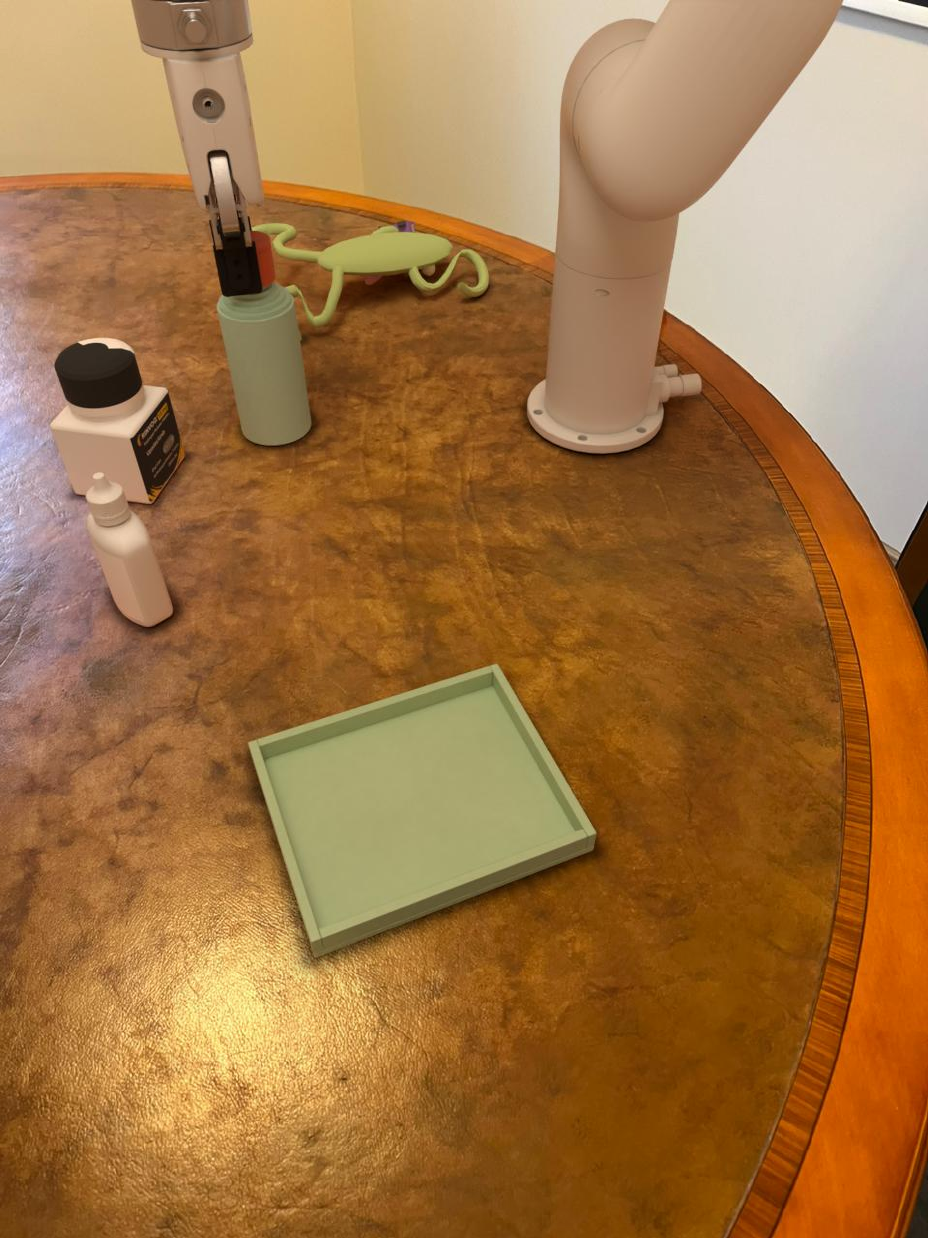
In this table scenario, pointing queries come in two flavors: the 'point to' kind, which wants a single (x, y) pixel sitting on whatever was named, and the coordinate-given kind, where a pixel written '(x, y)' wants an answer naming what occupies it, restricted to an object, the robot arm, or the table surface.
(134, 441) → the medicine bottle
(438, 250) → the figurine
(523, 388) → the table surface
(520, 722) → the tray
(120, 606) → the eye dropper bottle
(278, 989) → the table surface
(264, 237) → the cap
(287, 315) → the bottle
